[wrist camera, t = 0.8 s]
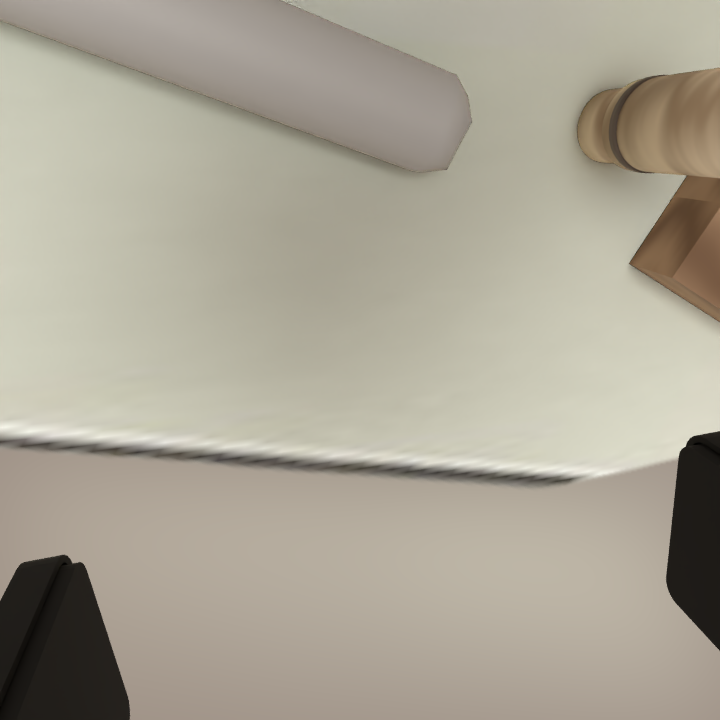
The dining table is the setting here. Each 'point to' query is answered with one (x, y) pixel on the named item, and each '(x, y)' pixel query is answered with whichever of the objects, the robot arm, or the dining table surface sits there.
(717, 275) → the board
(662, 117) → the peg
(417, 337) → the dining table surface
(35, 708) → the robot arm
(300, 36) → the tube
